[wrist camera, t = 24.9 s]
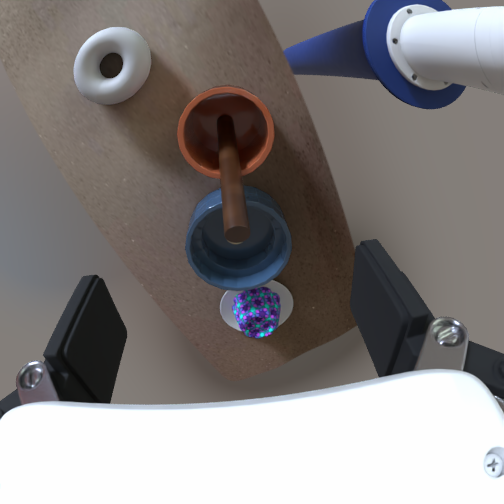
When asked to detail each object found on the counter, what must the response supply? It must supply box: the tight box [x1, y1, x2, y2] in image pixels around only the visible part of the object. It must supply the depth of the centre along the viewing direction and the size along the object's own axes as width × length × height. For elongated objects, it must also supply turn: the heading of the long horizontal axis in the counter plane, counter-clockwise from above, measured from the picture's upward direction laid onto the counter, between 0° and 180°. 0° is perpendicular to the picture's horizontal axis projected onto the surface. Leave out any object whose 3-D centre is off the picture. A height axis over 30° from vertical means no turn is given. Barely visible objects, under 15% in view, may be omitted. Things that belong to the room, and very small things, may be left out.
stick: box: [217, 115, 250, 243], centre depth 30 cm, size 2×2×18 cm
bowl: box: [185, 185, 292, 291], centre depth 41 cm, size 13×13×6 cm
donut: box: [74, 27, 151, 105], centre depth 29 cm, size 10×4×10 cm
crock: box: [177, 85, 275, 179], centre depth 32 cm, size 9×9×9 cm
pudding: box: [220, 280, 293, 339], centre depth 49 cm, size 12×12×5 cm
